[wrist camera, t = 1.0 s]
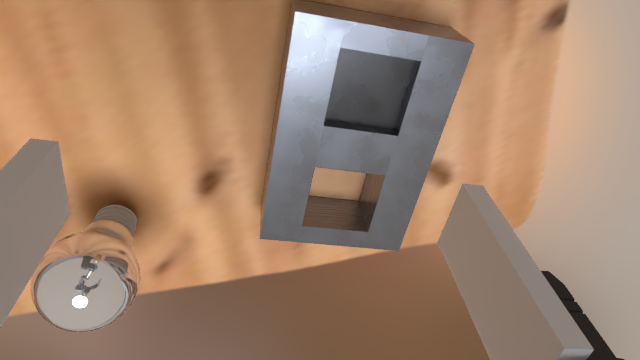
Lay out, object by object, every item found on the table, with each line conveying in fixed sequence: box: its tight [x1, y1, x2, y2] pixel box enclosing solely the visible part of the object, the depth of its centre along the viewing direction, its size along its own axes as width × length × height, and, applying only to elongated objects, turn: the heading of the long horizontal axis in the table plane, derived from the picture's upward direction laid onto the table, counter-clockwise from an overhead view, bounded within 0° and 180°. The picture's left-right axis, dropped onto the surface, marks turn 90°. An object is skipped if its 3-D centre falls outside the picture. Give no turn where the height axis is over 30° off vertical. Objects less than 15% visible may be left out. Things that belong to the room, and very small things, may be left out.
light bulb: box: [31, 205, 141, 332], centre depth 34 cm, size 7×7×12 cm
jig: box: [260, 0, 474, 251], centre depth 35 cm, size 18×12×4 cm, turn 169°
